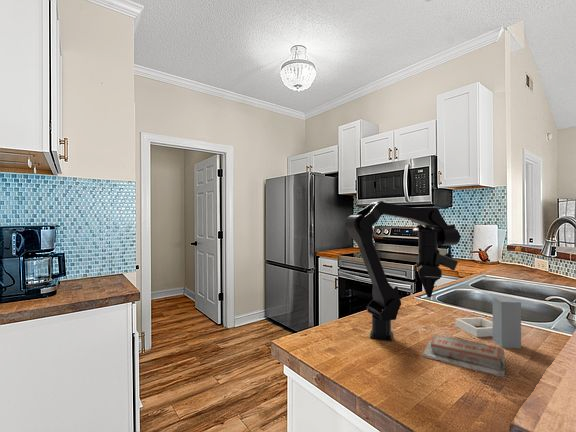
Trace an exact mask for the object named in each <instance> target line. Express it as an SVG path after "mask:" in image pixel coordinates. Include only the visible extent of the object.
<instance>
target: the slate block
mask: <svg viewBox="0 0 576 432" xmlns="http://www.w3.org/2000/svg"><path fill="white" fill-rule="evenodd" d="M492 322H493V336H492V341H493V342H494V343H495V344H496V345H498V346H499V348H502V349H504V348H506V349H522V302H521V301H519V300H517V299H515V298H512V297H502V296H500V297H499V296H496V297H495V296H492Z"/></svg>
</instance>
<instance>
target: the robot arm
mask: <svg viewBox="0 0 576 432" xmlns="http://www.w3.org/2000/svg"><path fill="white" fill-rule="evenodd" d="M382 216H387V217H388V216H389V217H392V218H393V217H394V218H400V219H406V220H408V221H411V222H413V223H415V224H417V225H416V226H415V227H414V228H413V229H412V232H413V233H417V235H418V240H417V241H418V242H417V243H418V246H417V247H418V248H417V250H418V251H417V252H418V259H417V261H416V270H417V272H418V273H417V274H418V276H419V277H418V278H419V279H420V282H421V284H422V287H423V289H424V291H425V295H426V297H427V298H432V295H433V292H434V288H435V284H436V282H437V281H439V280H440V279H441V278H442V276H443V273H442V269H441V268H440V266H443V267H445V268H448V269H450V270H451V271H455V270H456V268H457V266H458V263H459V260H457V259H456V258H453V254H451V253H449V252H445V253H444V254H442V253H440V250H439V248H438V247H439V246H455V245H458V244H459V243H460V241H461V234H460V232H459V231H458V229H457V228H456V225H455V224H448V223H447V222H446V221H445V218H444V217H443V215H442V214H441V211H440V209H439V208H438V207H412V206H406V205H402V204H395V203H389V202H385V201H383V200H377V201H372V202H371V203H370V204H368V205H367V206H365V207H364V208H362V209H361V210H359V211H357V212H356V213H355V214H352V215H351V214H350V215H349V216H347V218H346V220H345V222H344V227H345V230H346V231H347V233H348V235H349V236H350V238H351V239H353V241H354V242H355V243H356V245H357V247H358V250H359V252H360V255H361V258H362V261H363V263H364V266H365V269H366V270H367V273H368V275H369V279H370V281H371V284H372V289H371V290H372V291H371V295H372V299H371V300H370V302H369V303H368V304H367V305H366V310H367V312H368V313H369V314H370V315H371V329H370V335H369V338H370V339H377V340H383V341H393V334H394V333H393V331H392V321H395V320H397V317H398V314H399V311H400V308H401V306H402V301H401V300H402V299H403V298H402V296H401V295H400V292H399V288H398V286H396V285H393V284H390V283H389V281H388V279H387V276H386V273H385V271H384V267H383V265H382V262H381V260H380V257H379V254H378V251H377V249H376V247H375V244H374V243H375V242H374V240H373V239H374V227H373V226H374V225H375V224H377V222H378V221H379V220H380V218H381V217H382Z"/></svg>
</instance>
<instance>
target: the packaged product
mask: <svg viewBox="0 0 576 432" xmlns="http://www.w3.org/2000/svg"><path fill="white" fill-rule="evenodd" d="M422 357H423V358H427V359H431V360H435V361H436V360H437V361H440V362H443V363H446V364H451V365H454V366H459V367H461V368H465V369H469V370H474V371H477V372H482V373H485V374H490V375H493V376H498V377H503V378H504V377H505V373H506V358H505V349H504V348H502V347H500V346H499V347H497V346H495V345H490V344H486V343H481V342H477V341H476V342H475V341H470V340H467V339H462V338H456V337H452V336H447V335H443V334H437V333H436V334H433V335H432V337H431V340H429V342H428V344H427V345H426V347H425V349H424V351H423V353H422Z"/></svg>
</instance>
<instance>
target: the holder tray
mask: <svg viewBox="0 0 576 432" xmlns="http://www.w3.org/2000/svg"><path fill="white" fill-rule="evenodd" d="M478 326H479V327H478ZM480 326H481V327H480ZM455 327H457V328H458V329H461V330H463V331H464V332H465V333H466V332H467V333H468V334H470V335H472V336H473V337H476V338H483V337H484V338H485V337H493V321H491V320H488V319H487V318H484V317H479V316H478V317H461V318H455Z"/></svg>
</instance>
